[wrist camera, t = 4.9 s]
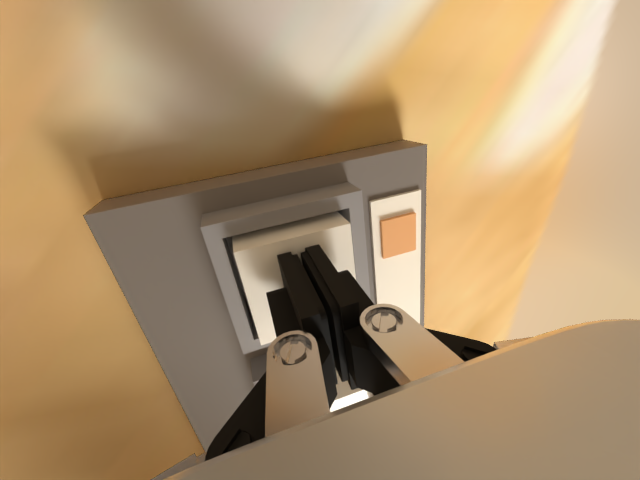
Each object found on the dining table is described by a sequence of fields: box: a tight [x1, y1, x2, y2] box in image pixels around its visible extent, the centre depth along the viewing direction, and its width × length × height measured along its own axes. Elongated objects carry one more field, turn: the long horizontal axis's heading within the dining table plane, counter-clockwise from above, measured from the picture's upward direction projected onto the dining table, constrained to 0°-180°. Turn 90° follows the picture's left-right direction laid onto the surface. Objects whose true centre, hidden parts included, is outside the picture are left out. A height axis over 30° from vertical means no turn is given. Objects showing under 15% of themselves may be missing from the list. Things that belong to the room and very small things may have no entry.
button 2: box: [232, 211, 356, 345], centre depth 13 cm, size 4×4×2 cm
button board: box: [83, 140, 427, 452], centre depth 18 cm, size 24×14×4 cm, turn 8°
